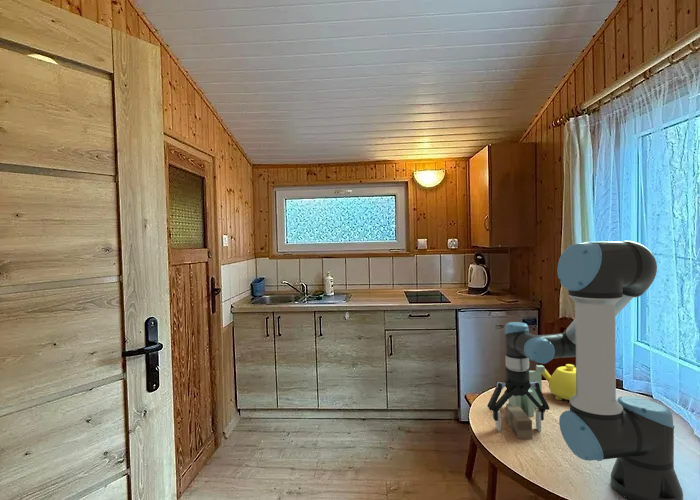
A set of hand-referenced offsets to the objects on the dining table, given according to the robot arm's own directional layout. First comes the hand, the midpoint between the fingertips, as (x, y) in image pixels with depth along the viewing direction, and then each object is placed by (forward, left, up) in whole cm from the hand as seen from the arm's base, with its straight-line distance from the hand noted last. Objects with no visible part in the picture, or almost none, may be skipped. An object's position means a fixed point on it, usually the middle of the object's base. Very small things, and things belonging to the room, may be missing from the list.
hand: (518, 429), depth 141 cm
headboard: (+18, +3, 0) cm, 18 cm away
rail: (+2, +1, 0) cm, 2 cm away
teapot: (+40, -3, 0) cm, 40 cm away
